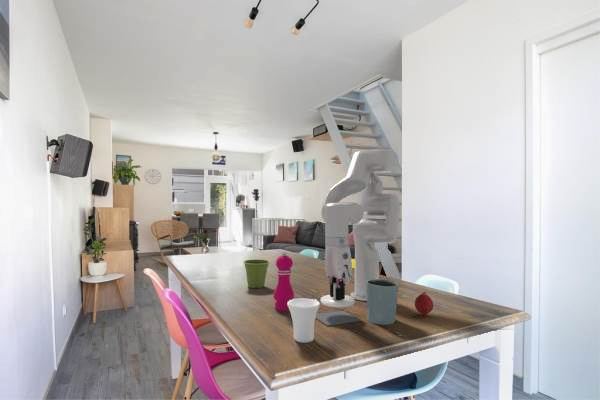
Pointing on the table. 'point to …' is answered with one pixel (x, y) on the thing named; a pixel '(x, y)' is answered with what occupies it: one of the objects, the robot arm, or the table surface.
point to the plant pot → (256, 272)
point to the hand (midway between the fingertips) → (337, 297)
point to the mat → (336, 318)
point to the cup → (303, 318)
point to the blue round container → (381, 301)
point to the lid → (333, 302)
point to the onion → (424, 304)
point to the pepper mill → (283, 282)
